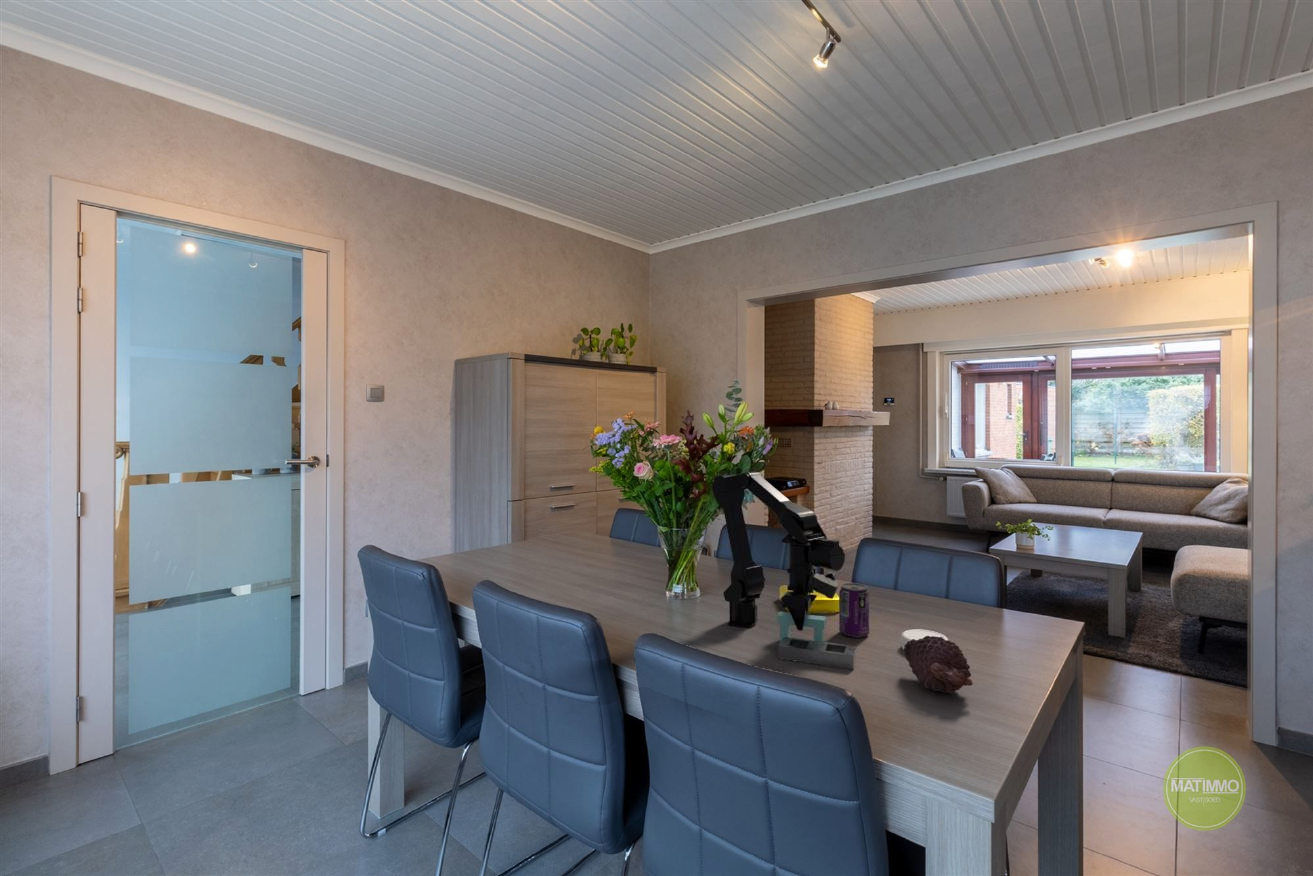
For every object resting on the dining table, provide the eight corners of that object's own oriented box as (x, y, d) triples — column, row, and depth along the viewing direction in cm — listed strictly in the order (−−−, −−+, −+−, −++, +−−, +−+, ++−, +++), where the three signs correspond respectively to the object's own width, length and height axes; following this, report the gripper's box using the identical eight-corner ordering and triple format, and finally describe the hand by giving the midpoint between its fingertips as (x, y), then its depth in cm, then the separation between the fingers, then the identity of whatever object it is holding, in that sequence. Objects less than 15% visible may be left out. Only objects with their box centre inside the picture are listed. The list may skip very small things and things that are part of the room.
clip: (777, 641, 145) (777, 615, 145) (780, 637, 148) (779, 611, 148) (824, 648, 141) (824, 620, 141) (826, 643, 144) (826, 616, 143)
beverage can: (871, 639, 146) (871, 590, 146) (840, 638, 147) (840, 589, 147) (867, 630, 153) (866, 583, 153) (838, 628, 154) (837, 581, 154)
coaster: (921, 661, 133) (921, 645, 133) (892, 645, 143) (892, 630, 143) (958, 656, 136) (958, 640, 136) (927, 641, 145) (927, 626, 145)
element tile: (842, 614, 167) (842, 597, 167) (788, 614, 167) (788, 597, 167) (828, 599, 182) (828, 583, 182) (778, 599, 182) (778, 583, 182)
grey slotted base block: (778, 658, 135) (778, 645, 134) (783, 649, 140) (783, 636, 140) (853, 669, 128) (853, 655, 128) (856, 659, 134) (856, 646, 134)
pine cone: (888, 672, 127) (888, 625, 127) (929, 668, 129) (929, 621, 129) (944, 711, 109) (944, 656, 109) (992, 705, 111) (992, 651, 111)
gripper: (830, 575, 132) (831, 646, 133) (840, 558, 149) (841, 620, 150) (780, 571, 137) (780, 639, 137) (795, 554, 154) (795, 615, 154)
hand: (801, 628), depth 144 cm, fingers closed on clip, 3 cm apart
